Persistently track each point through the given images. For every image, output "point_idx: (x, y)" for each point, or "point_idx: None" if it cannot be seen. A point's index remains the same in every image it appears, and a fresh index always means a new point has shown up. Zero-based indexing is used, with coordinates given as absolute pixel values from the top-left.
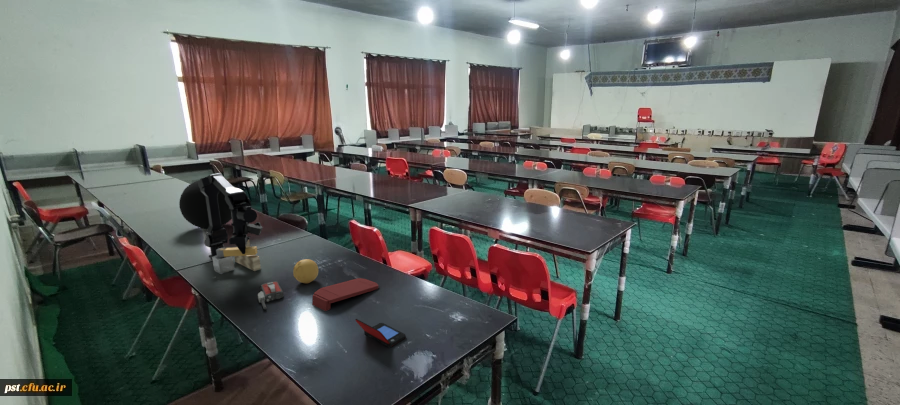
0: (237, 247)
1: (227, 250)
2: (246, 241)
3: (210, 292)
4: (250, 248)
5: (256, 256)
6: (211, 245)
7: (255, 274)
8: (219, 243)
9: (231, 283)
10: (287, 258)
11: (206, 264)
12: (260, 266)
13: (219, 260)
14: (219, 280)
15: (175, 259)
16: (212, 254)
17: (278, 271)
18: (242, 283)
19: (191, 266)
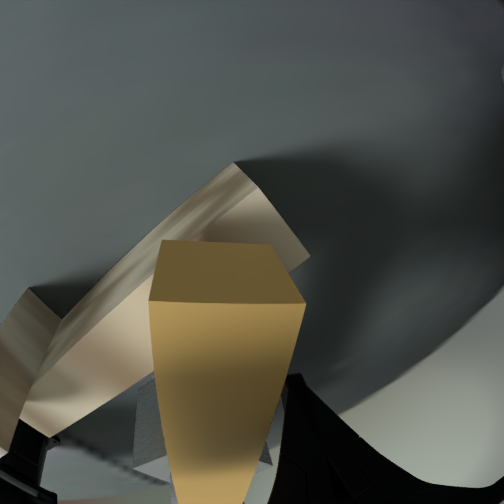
0: (178, 480)
1: (243, 497)
2: (463, 491)
3: (442, 337)
4: (266, 372)
5: (242, 227)
6: (44, 494)
7: (340, 184)
8: (11, 476)
9: (408, 294)
10: (46, 5)
11: (114, 452)
12: (237, 166)
13: (266, 458)
14: (342, 362)
15: (84, 494)
16: (45, 455)
17: (332, 20)
18: (434, 237)
19: (137, 475)
